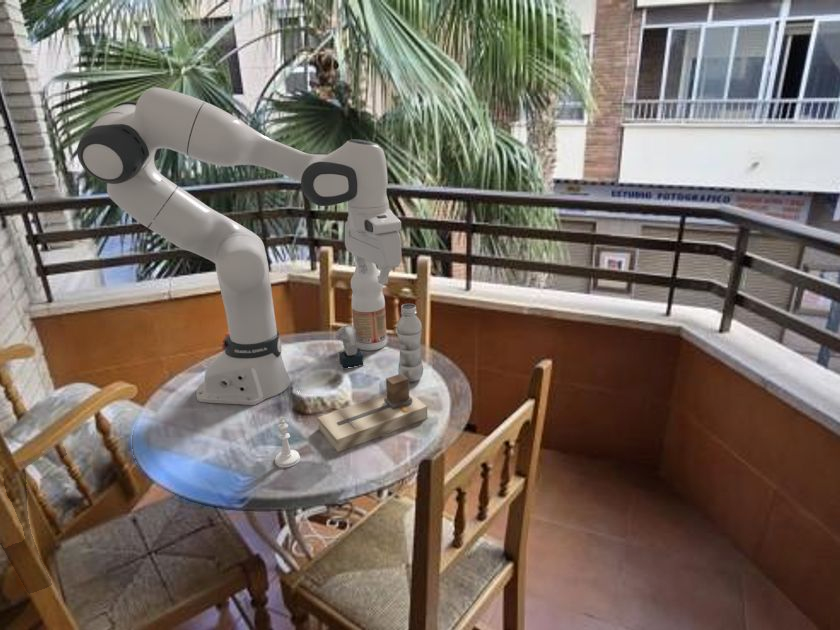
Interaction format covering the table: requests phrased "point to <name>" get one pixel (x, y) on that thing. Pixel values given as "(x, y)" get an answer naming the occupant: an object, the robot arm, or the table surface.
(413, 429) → the table surface
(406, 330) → the plastic bottle
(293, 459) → the chess piece
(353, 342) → the watch
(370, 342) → the fruit juice
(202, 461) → the table surface
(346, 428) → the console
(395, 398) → the slider
